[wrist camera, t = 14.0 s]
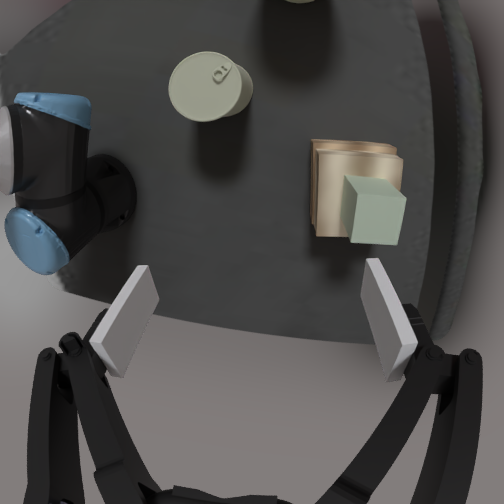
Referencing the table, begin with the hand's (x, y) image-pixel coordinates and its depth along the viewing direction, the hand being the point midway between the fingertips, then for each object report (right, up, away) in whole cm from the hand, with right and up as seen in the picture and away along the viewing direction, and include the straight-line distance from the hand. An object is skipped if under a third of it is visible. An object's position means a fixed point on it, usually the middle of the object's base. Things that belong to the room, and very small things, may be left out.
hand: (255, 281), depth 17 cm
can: (-5, +27, +23) cm, 36 cm away
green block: (+15, +9, +20) cm, 27 cm away
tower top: (+15, +11, +24) cm, 31 cm away
